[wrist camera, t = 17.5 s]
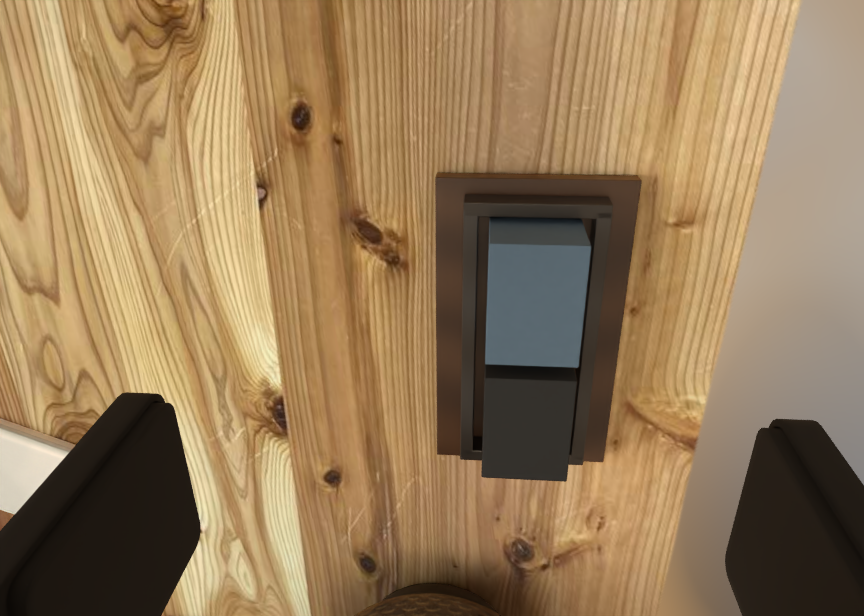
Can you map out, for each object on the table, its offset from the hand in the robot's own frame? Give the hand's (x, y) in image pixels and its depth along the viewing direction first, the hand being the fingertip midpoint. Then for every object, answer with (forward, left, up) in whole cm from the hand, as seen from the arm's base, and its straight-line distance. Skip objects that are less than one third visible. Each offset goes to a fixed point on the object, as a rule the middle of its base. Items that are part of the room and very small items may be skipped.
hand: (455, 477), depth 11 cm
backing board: (+9, +8, -28) cm, 31 cm away
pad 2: (+13, +10, -27) cm, 32 cm away
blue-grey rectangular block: (+6, +6, -27) cm, 28 cm away
